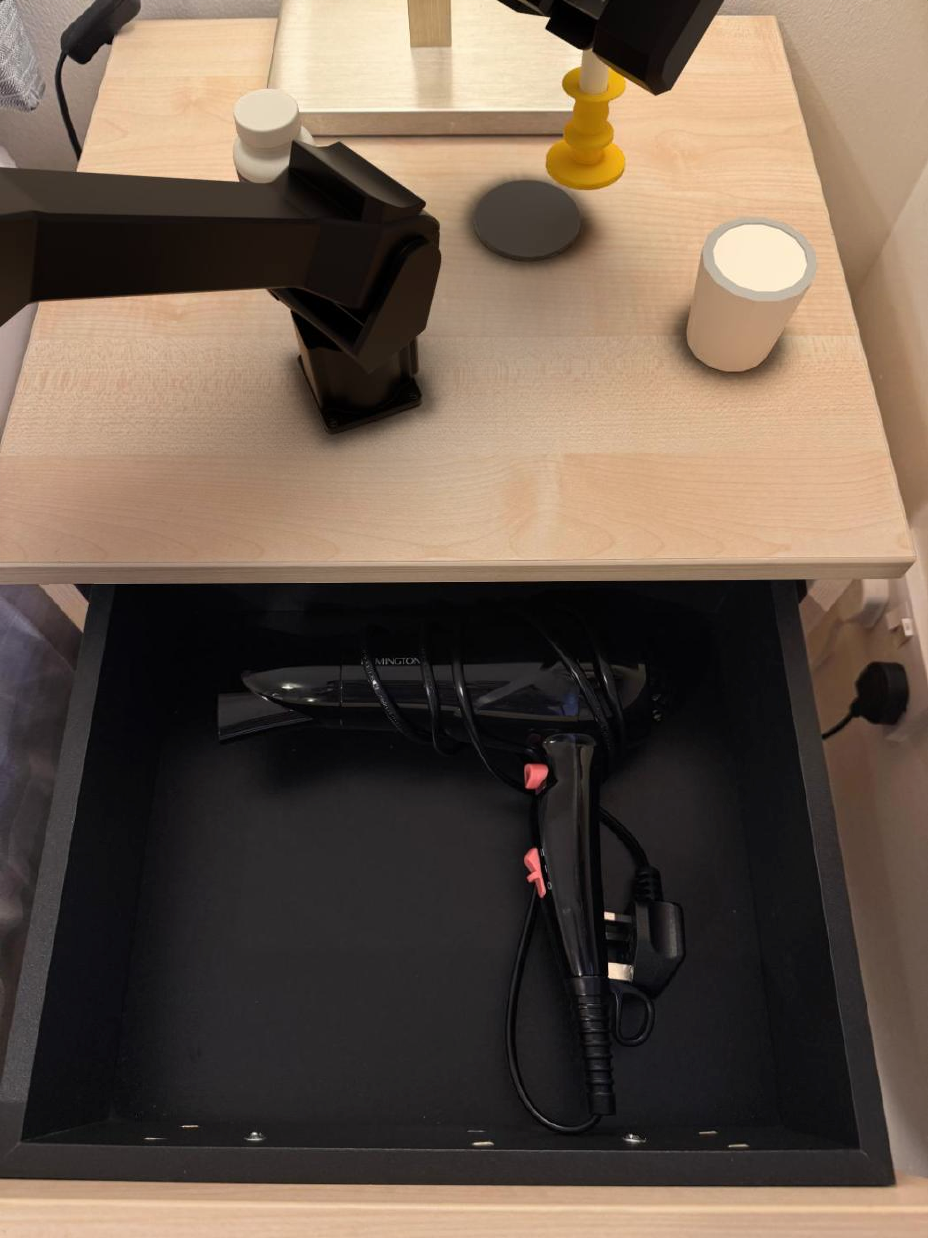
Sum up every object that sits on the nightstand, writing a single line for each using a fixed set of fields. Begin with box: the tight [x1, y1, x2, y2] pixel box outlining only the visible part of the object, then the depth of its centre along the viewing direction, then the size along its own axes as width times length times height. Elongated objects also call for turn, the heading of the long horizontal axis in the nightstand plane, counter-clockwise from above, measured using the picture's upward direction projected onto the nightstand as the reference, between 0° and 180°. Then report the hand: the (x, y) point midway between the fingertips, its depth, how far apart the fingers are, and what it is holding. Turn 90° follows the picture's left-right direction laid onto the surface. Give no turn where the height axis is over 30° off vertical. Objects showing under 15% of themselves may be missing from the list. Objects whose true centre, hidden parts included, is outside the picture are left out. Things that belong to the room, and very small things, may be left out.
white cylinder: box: [685, 216, 819, 372], centre depth 56 cm, size 7×7×7 cm
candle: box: [544, 48, 627, 191], centre depth 51 cm, size 5×5×16 cm
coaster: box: [473, 179, 581, 262], centre depth 63 cm, size 8×8×1 cm
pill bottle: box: [232, 88, 316, 183], centre depth 58 cm, size 5×5×10 cm
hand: (607, 17), depth 51 cm, fingers closed on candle
